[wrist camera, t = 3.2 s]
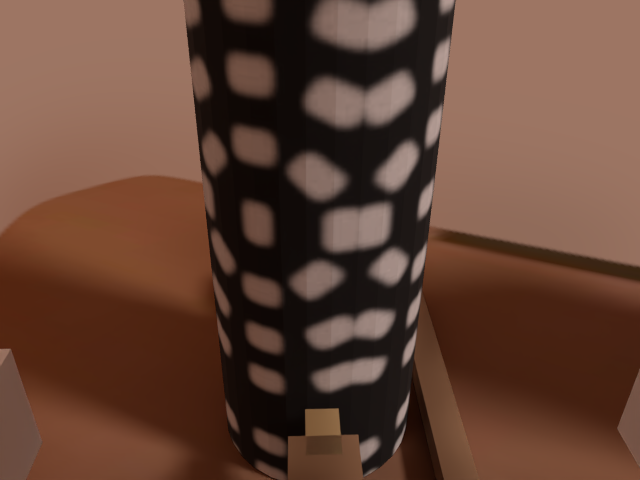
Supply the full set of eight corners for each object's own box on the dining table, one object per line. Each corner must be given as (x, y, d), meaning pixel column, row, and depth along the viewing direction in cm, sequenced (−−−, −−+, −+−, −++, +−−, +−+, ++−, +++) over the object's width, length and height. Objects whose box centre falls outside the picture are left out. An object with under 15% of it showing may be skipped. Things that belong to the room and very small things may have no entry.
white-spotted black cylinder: (284, 331, 33) (272, -83, 23) (431, 383, 30) (494, -73, 19) (189, 440, 27) (111, -65, 16) (362, 520, 24) (401, -46, 13)
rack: (418, 300, 36) (426, 227, 33) (499, 581, 22) (524, 491, 19) (260, 303, 35) (256, 229, 33) (239, 589, 21) (228, 500, 19)
